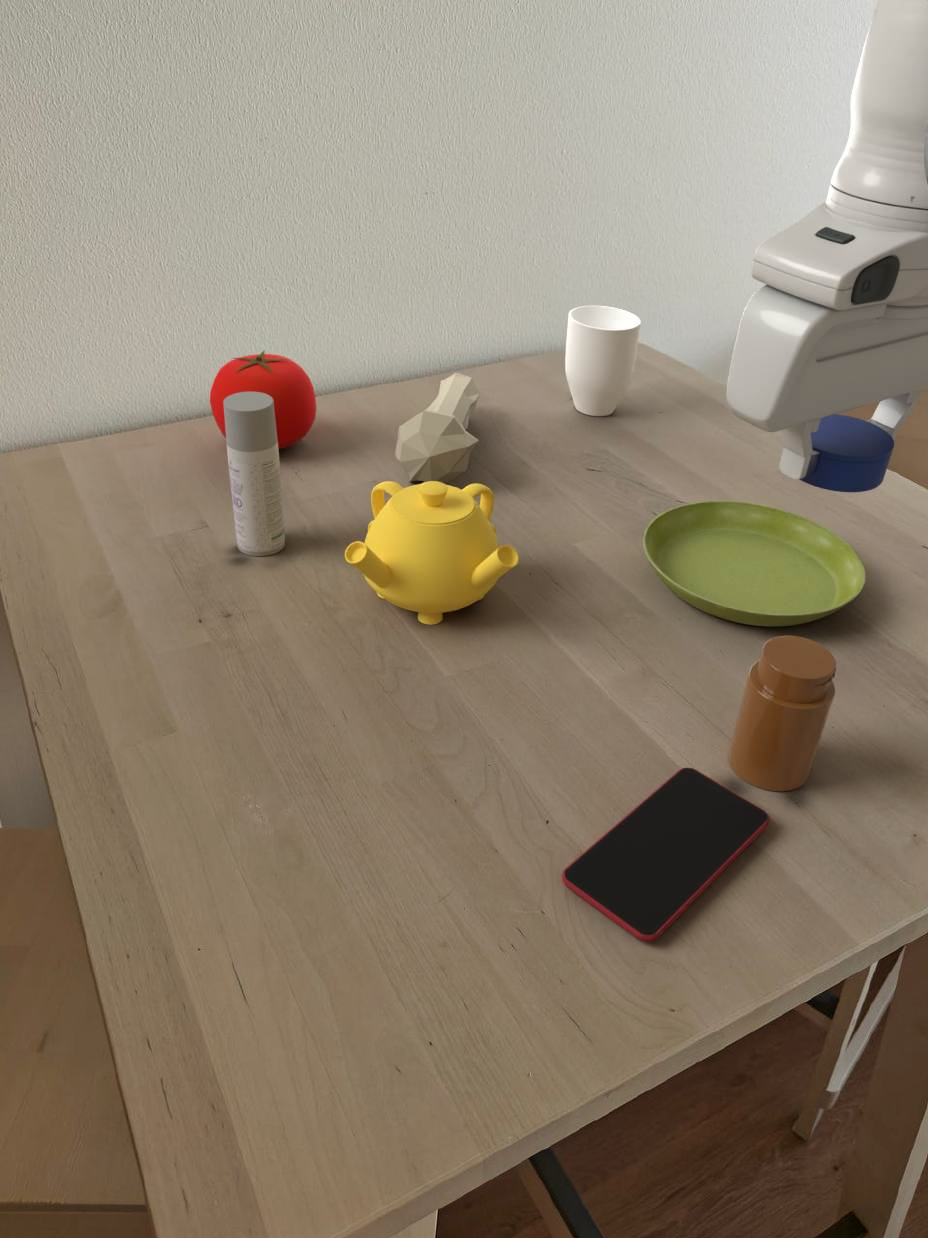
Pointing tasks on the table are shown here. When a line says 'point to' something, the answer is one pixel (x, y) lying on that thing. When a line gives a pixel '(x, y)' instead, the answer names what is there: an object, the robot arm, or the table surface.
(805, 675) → the jar
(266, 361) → the tomato
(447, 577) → the teapot
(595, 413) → the mug
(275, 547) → the container
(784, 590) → the saucer
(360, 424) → the table surface
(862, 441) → the jar lid
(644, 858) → the smartphone
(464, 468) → the faceted club
